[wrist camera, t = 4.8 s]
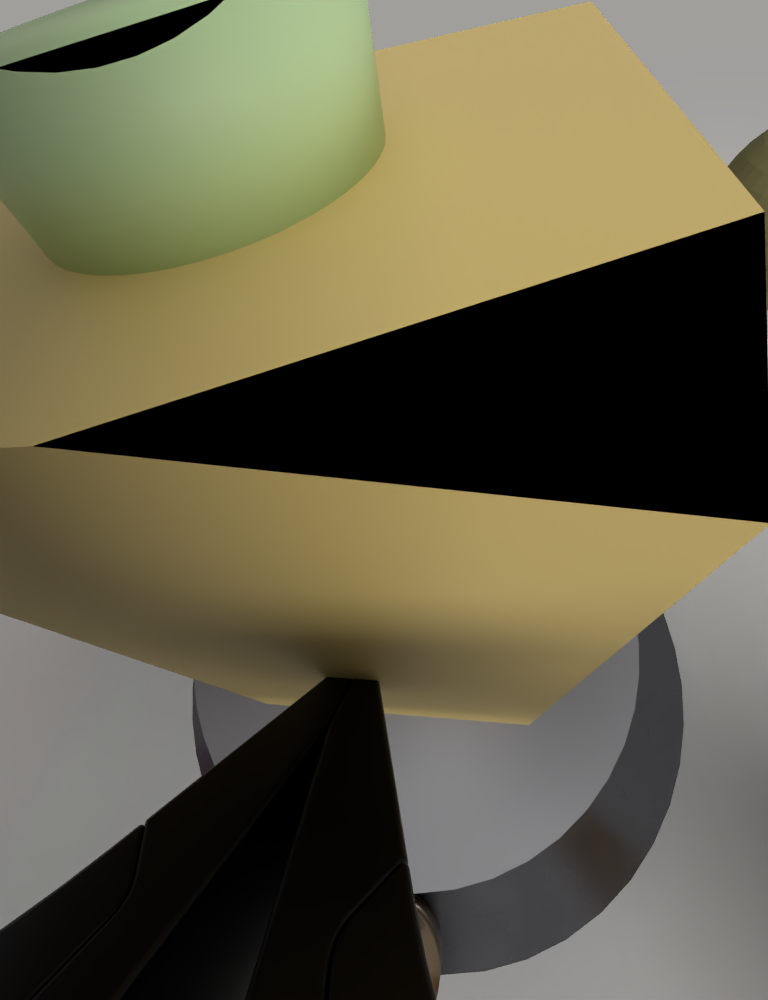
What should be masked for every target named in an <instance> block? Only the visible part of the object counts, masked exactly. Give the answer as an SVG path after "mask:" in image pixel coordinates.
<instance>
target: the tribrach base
mask: <svg viewBox="0 0 768 1000" xmlns="http://www.w3.org/2000/svg"><path fill="white" fill-rule="evenodd" d="M637 635H638V641H639V681H638V688H637V696H636V703H635V710H634V714H633V717H632V721H631V724H630V728H629V731H628V735H627V738H626V741H625V745H624V747H623V749H622V751H621V753H620V755H619V758H618V760H617V762H616V764H615V766H614V768H613V770H612V772H611V775H610V777H609V779H608V780H607V782H606V783H605V784H604V786H603V787H602V789H601V790H600V792H599V793H598V795H597V796H596V798H595V799H594V801H593V802H592V803H591V805H590V806H589V808H588V809H587V810H586V812H585V813H584V814H583V815H582V816H581V817H580V818H579V819H578V820H577V821H576V822H575V823H574V824H573V825H572V826H571V827H570V828H569V829H568V830H567V831H566V832H565V833H564V834H563V835H562V836H561V837H560V838H559V839H558V840H556V841H555V842H554V843H552V844H551V845H550V846H548V847H547V848H546V849H544V850H543V851H541V852H540V853H539V854H537V855H536V856H535V857H533V858H532V859H531V860H529V861H528V862H526V863H523V864H521V865H519V866H517V867H515V868H513V869H511V870H509V871H507V872H505V873H503V874H501V875H499V876H497V877H495V878H493V879H490V880H486V881H483V882H479V883H476V884H473V885H469V886H466V887H462V888H459V889H455V890H446V891H437V892H427V893H417V894H414V898H415V904H416V909H417V915H418V920H419V925H420V930H421V935H422V940H423V946H424V951H425V956H426V961H427V965H428V969H429V973H430V977H431V981H432V985H433V989H434V993H435V997H437V994H438V987H439V980H440V975H444V974H456V973H468V972H480V971H487V970H490V969H494V968H497V967H501V966H504V965H508V964H512V963H515V962H519V961H522V960H526V959H528V958H530V957H532V956H534V955H536V954H538V953H540V952H542V951H544V950H546V949H548V948H550V947H552V946H554V945H556V944H558V943H560V942H562V941H564V940H566V939H567V938H569V937H570V936H571V935H573V934H574V933H575V932H576V931H578V930H579V929H580V928H582V927H583V926H584V925H586V924H587V923H588V922H590V921H591V920H592V919H593V918H595V917H596V916H597V915H599V914H600V913H601V912H602V911H603V910H604V909H605V908H606V907H607V906H608V904H609V903H610V902H611V901H612V900H613V899H614V898H615V897H616V896H617V895H618V893H619V892H620V891H621V890H622V889H623V888H624V887H625V886H626V885H627V884H628V882H629V881H630V880H631V878H632V877H633V875H634V874H635V872H636V871H637V869H638V867H639V866H640V864H641V863H642V861H643V859H644V858H645V856H646V855H647V853H648V852H649V850H650V848H651V847H652V845H653V843H654V841H655V839H656V836H657V834H658V832H659V829H660V827H661V824H662V822H663V820H664V817H665V815H666V813H667V810H668V808H669V806H670V802H671V798H672V794H673V790H674V786H675V782H676V778H677V774H678V770H679V765H680V756H681V746H682V735H683V704H682V685H681V679H680V674H679V669H678V663H677V658H676V653H675V648H674V645H673V642H672V639H671V635H670V632H669V629H668V626H667V623H666V620H665V617H664V614H661V615H660V616H659V617H658V618H657V619H655V620H654V621H653V622H652V623H651V624H649V625H648V626H647V627H646V628H645V629H643V630H642V631H641V632H640V633H639V634H637ZM193 727H194V736H195V745H196V754H197V758H198V762H199V766H200V771H201V775H204V774H205V773H206V772H208V771H209V770H210V769H211V768H213V767H214V766H215V765H214V763H213V760H212V758H211V755H210V752H209V750H208V747H207V745H206V742H205V739H204V736H203V732H202V728H201V724H200V719H199V715H198V711H197V705H196V695H195V685H194V682H193Z"/></svg>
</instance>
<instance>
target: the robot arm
mask: <svg viewBox="0 0 768 1000" xmlns="http://www.w3.org/2000/svg"><path fill="white" fill-rule="evenodd" d="M0 1000H436V997H435V993H434V989H433V985H432V981H431V977H430V973H429V969H428V965H427V961H426V956H425V951H424V946H423V940H422V935H421V930H420V925H419V920H418V915H417V909H416V904H415V898H414V892H413V886H412V880H411V873H410V868H409V866H408V857H407V851H406V845H405V838H404V832H403V826H402V820H401V813H400V807H399V801H398V795H397V789H396V782H395V776H394V770H393V764H392V758H391V751H390V745H389V739H388V733H387V726H386V720H385V714H384V708H383V702H382V695H381V689H380V683H379V681H377V680H365V679H353V680H352V679H348V678H334V677H326V678H325V679H323V680H322V681H321V682H320V683H318V684H317V685H316V686H315V687H313V688H312V689H311V690H309V691H308V692H307V693H306V694H304V695H303V696H302V697H301V698H299V699H298V700H297V701H296V702H294V703H293V704H292V705H291V706H289V707H288V708H287V709H286V710H284V711H283V712H282V713H281V714H279V715H278V716H277V717H275V718H274V719H273V720H272V721H270V722H269V723H268V724H267V725H265V726H264V727H263V728H262V729H260V730H259V731H258V732H257V733H255V734H254V735H253V736H252V737H250V738H249V739H248V740H247V741H245V742H244V743H243V744H242V745H240V746H239V747H238V748H236V749H235V750H234V751H233V752H231V753H230V754H229V755H228V756H226V757H225V758H224V759H223V760H221V761H220V762H219V763H218V764H216V765H215V766H214V767H213V768H211V769H210V770H209V771H208V772H206V773H205V774H204V775H202V776H201V777H200V778H199V779H197V780H196V781H195V782H194V783H192V784H191V785H190V786H189V787H187V788H186V789H185V790H184V791H182V792H181V793H180V794H179V795H177V796H176V797H175V798H174V799H172V800H171V801H170V802H168V803H167V804H166V805H165V806H163V807H162V808H161V809H160V810H158V811H157V812H156V813H155V814H153V815H152V816H151V817H150V818H148V819H147V821H146V823H145V826H144V825H139V826H138V827H137V828H135V829H134V830H133V831H132V832H130V833H129V834H128V835H127V836H125V837H124V838H123V839H122V840H120V841H119V842H118V843H117V844H115V845H114V846H113V847H111V848H110V849H109V850H108V851H106V852H105V853H104V854H102V855H101V856H100V857H98V858H97V859H96V860H95V861H93V862H92V863H91V864H89V865H88V866H87V867H85V868H84V869H83V870H82V871H80V872H79V873H78V874H76V875H75V876H74V877H72V878H71V879H70V880H69V881H67V882H66V883H65V884H63V885H62V886H61V887H59V888H58V889H57V890H55V891H54V892H52V893H51V894H50V895H48V896H47V897H45V898H44V899H43V900H41V901H40V902H39V903H37V904H36V905H34V906H33V907H32V908H30V909H29V910H27V911H26V912H25V913H23V914H22V915H21V916H19V917H18V918H16V919H15V920H14V921H12V922H11V923H9V924H8V925H7V926H5V927H4V928H2V929H1V930H0Z"/></svg>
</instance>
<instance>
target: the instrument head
mask: <svg viewBox="0 0 768 1000" xmlns="http://www.w3.org/2000/svg"><path fill="white" fill-rule="evenodd" d="M767 526H768V357H767V305H766V252H765V211H764V210H763V209H762V208H761V206H760V205H759V204H758V203H757V202H756V200H755V199H754V198H753V197H752V196H751V194H750V193H749V192H748V191H747V189H746V188H745V187H744V186H743V185H742V183H741V182H740V181H739V180H738V179H737V177H736V176H735V175H734V174H733V172H732V171H731V170H730V169H729V168H728V166H727V165H726V164H725V163H724V162H723V161H722V159H721V158H720V157H719V156H718V154H717V153H716V152H715V151H714V150H713V148H712V147H711V146H710V145H709V143H708V142H707V141H706V140H705V139H704V137H703V136H702V135H701V134H700V132H699V131H698V130H697V129H696V128H695V126H694V125H693V124H692V123H691V122H690V120H689V119H688V118H687V117H686V116H685V115H684V113H683V112H682V111H681V110H680V108H679V107H678V106H677V105H676V103H675V102H674V101H673V100H672V99H671V98H670V96H669V95H668V94H667V92H666V91H665V90H664V89H663V88H662V87H661V85H660V84H659V83H658V82H657V80H656V79H655V78H654V77H653V76H652V74H651V73H650V72H649V71H648V70H647V68H646V67H645V66H644V65H643V63H642V62H641V61H640V60H639V59H638V57H637V56H636V55H635V54H634V53H633V51H632V50H631V49H630V48H629V46H628V45H627V44H626V43H625V42H624V40H623V39H622V38H621V37H620V36H619V34H618V33H617V32H616V31H615V29H614V28H613V27H612V26H611V25H610V23H609V22H608V21H607V20H606V19H605V17H604V16H603V15H602V14H601V13H600V12H599V10H598V9H597V8H596V7H595V5H594V4H593V3H592V2H591V1H590V2H586V3H581V4H577V5H573V6H568V7H564V8H560V9H555V10H551V11H547V12H542V13H538V14H534V15H529V16H525V17H521V18H516V19H512V20H508V21H504V22H499V23H495V24H491V25H486V26H482V27H477V28H473V29H469V30H464V31H460V32H456V33H451V34H447V35H442V36H439V37H434V38H429V39H426V40H421V41H416V42H412V43H408V44H403V45H399V46H395V47H390V48H386V49H382V50H377V51H374V45H373V37H372V30H371V23H370V15H369V9H368V0H87V1H85V2H82V3H79V4H76V5H73V6H70V7H68V8H65V9H62V10H59V11H56V12H54V13H51V14H48V15H45V16H43V17H40V18H37V19H35V20H32V21H29V22H27V23H24V24H21V25H19V26H16V27H13V28H11V29H8V30H6V31H3V32H0V613H1V614H4V615H7V616H9V617H12V618H15V619H18V620H21V621H24V622H27V623H30V624H33V625H36V626H39V627H42V628H45V629H48V630H51V631H54V632H57V633H60V634H63V635H66V636H69V637H71V638H74V639H77V640H80V641H83V642H86V643H89V644H92V645H95V646H98V647H101V648H104V649H107V650H110V651H113V652H116V653H119V654H122V655H125V656H128V657H131V658H133V659H136V660H139V661H142V662H145V663H148V664H151V665H154V666H157V667H160V668H163V669H166V670H169V671H172V672H175V673H178V674H181V675H184V676H187V677H190V678H193V679H194V685H195V695H196V705H197V711H198V715H199V719H200V724H201V728H202V732H203V736H204V739H205V742H206V745H207V747H208V750H209V752H210V755H211V758H212V760H213V763H214V765H216V764H218V763H219V762H220V761H221V760H223V759H224V758H225V757H226V756H228V755H229V754H230V753H231V752H233V751H234V750H235V749H236V748H238V747H239V746H240V745H242V744H243V743H244V742H245V741H247V740H248V739H249V738H250V737H252V736H253V735H254V734H255V733H257V732H258V731H259V730H260V729H262V728H263V727H264V726H265V725H267V724H268V723H269V722H270V721H272V720H273V719H274V718H275V717H277V716H278V715H279V714H281V713H282V712H283V711H284V710H286V709H287V708H288V707H289V706H291V705H292V704H293V703H294V702H296V701H297V700H298V699H299V698H301V697H302V696H303V695H304V694H306V693H307V692H308V691H309V690H311V689H312V688H313V687H315V686H316V685H317V684H318V683H320V682H321V681H322V680H323V679H325V678H326V677H334V678H348V679H352V680H353V679H365V680H377V681H379V683H380V689H381V695H382V702H383V708H384V714H385V720H386V726H387V733H388V739H389V745H390V751H391V758H392V764H393V770H394V776H395V782H396V789H397V795H398V801H399V807H400V813H401V820H402V826H403V832H404V838H405V845H406V851H407V857H408V866H409V868H410V873H411V880H412V886H413V892H414V894H417V893H427V892H437V891H446V890H455V889H459V888H462V887H466V886H469V885H473V884H476V883H479V882H483V881H486V880H490V879H493V878H495V877H497V876H499V875H501V874H503V873H505V872H507V871H509V870H511V869H513V868H515V867H517V866H519V865H521V864H523V863H526V862H528V861H529V860H531V859H532V858H533V857H535V856H536V855H537V854H539V853H540V852H541V851H543V850H544V849H546V848H547V847H548V846H550V845H551V844H552V843H554V842H555V841H556V840H558V839H559V838H560V837H561V836H562V835H563V834H564V833H565V832H566V831H567V830H568V829H569V828H570V827H571V826H572V825H573V824H574V823H575V822H576V821H577V820H578V819H579V818H580V817H581V816H582V815H583V814H584V813H585V812H586V810H587V809H588V808H589V806H590V805H591V803H592V802H593V801H594V799H595V798H596V796H597V795H598V793H599V792H600V790H601V789H602V787H603V786H604V784H605V783H606V782H607V780H608V779H609V777H610V775H611V772H612V770H613V768H614V766H615V764H616V762H617V760H618V758H619V755H620V753H621V751H622V749H623V747H624V745H625V741H626V738H627V735H628V731H629V728H630V724H631V721H632V717H633V714H634V710H635V703H636V696H637V688H638V681H639V641H638V635H637V634H639V633H640V632H641V631H642V630H643V629H645V628H646V627H647V626H648V625H649V624H651V623H652V622H653V621H654V620H655V619H657V618H658V617H659V616H660V615H661V614H663V613H664V612H665V611H666V610H667V609H669V608H670V607H671V606H672V605H673V604H675V603H676V602H677V601H678V600H679V599H681V598H682V597H683V596H684V595H685V594H687V593H688V592H689V591H690V590H691V589H693V588H694V587H695V586H696V585H697V584H699V583H700V582H701V581H702V580H703V579H705V578H706V577H707V576H708V575H709V574H711V573H712V572H713V571H714V570H715V569H717V568H718V567H719V566H720V565H721V564H723V563H724V562H725V561H726V560H727V559H729V558H730V557H731V556H732V555H733V554H735V553H736V552H737V551H738V550H739V549H741V548H742V547H743V546H744V545H745V544H747V543H748V542H749V541H750V540H751V539H753V538H754V537H755V536H756V535H757V534H759V533H760V532H761V531H762V530H763V529H765V528H766V527H767Z"/></svg>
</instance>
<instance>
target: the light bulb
mask: <svg viewBox="0 0 768 1000" xmlns="http://www.w3.org/2000/svg"><path fill="white" fill-rule="evenodd" d="M728 168H729V169H730V170H731V171H732V172H733V174H734V175H735V176H736V177H737V179H738V180H739V181H740V182H741V183H742V185H743V186H744V187H745V188H746V189H747V191H748V192H749V193H750V194H751V196H752V197H753V198H754V199H755V200H756V202H757V203H758V204H759V205H760V206H761V208H762V209H763V210H764V211H765V252H766V305H767V310H768V130H766V132H764V133H762V134H761V135H760V136H758V137H757V138H755V139H754V140H753V141H752V142H750V143H749V144H748V145H747V146H746V147H745V148H744V149H743V150H742V151H741V152H740V153H739V154H738V155H737V156H736V157H735V158H734V159H733V161H732V162H731V163H730V164H729V166H728Z"/></svg>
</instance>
